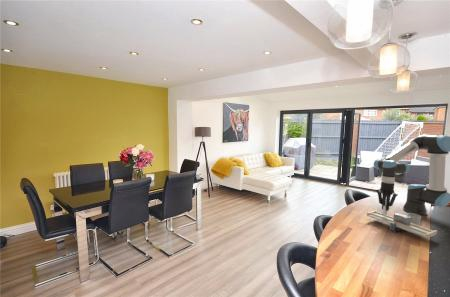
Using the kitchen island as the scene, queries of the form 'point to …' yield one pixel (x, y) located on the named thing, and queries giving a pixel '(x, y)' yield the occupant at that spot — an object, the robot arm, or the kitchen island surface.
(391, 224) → the fulcrum
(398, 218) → the block
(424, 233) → the beam
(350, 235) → the kitchen island surface
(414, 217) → the cup
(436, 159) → the robot arm
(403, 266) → the kitchen island surface
